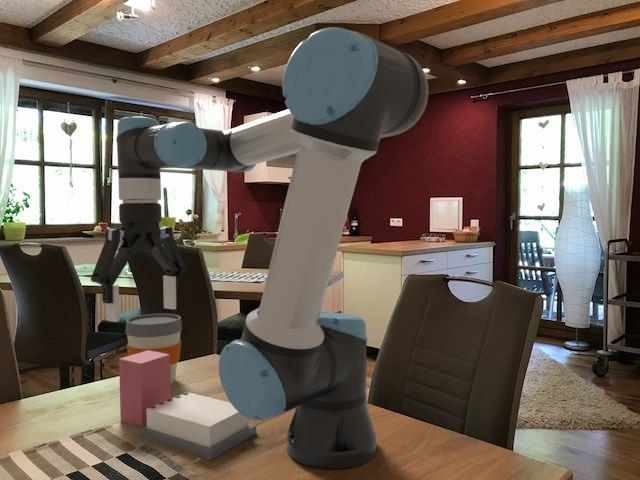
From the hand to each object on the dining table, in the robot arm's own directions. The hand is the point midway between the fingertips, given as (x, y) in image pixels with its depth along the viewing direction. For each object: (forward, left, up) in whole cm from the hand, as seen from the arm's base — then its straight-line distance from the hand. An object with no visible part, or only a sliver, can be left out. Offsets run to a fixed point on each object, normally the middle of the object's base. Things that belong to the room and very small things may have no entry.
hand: (143, 314), depth 102 cm
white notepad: (-14, 0, -20) cm, 25 cm away
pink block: (0, 0, -20) cm, 20 cm away
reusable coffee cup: (+15, -16, -21) cm, 30 cm away
